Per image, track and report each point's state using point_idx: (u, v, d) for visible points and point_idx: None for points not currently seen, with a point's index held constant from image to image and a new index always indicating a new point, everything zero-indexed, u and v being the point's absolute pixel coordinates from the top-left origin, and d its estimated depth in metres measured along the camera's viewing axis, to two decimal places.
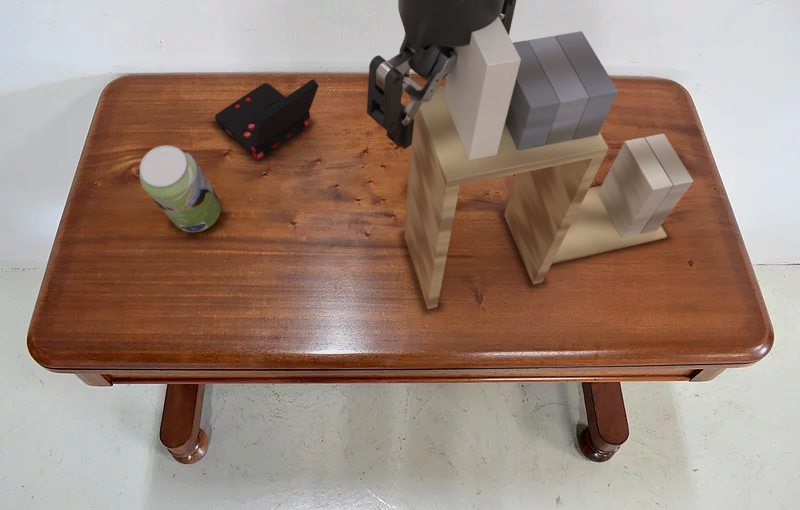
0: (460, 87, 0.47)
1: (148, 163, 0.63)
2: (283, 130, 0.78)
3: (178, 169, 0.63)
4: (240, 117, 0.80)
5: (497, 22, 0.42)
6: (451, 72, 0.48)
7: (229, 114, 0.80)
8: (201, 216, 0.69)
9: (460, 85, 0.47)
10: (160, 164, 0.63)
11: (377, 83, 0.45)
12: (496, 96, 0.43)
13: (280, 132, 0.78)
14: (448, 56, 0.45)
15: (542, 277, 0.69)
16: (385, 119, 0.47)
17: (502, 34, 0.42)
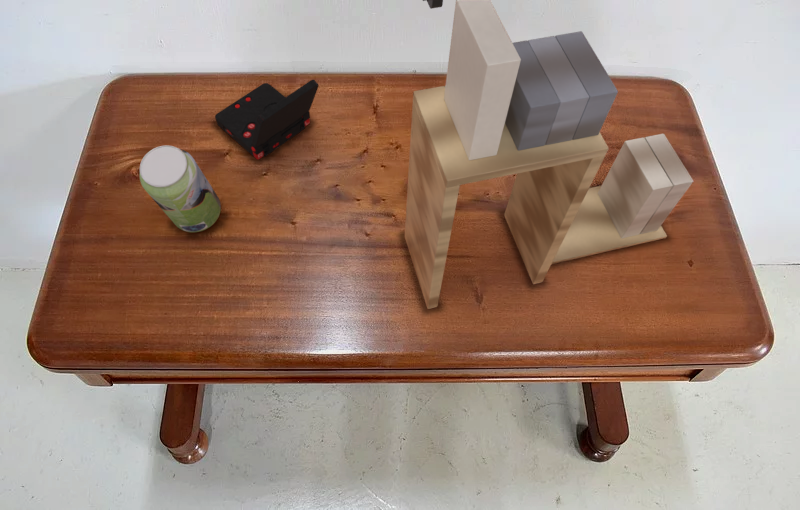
0: (460, 87, 0.47)
1: (148, 163, 0.63)
2: (283, 130, 0.78)
3: (178, 169, 0.63)
4: (240, 117, 0.80)
5: (497, 22, 0.42)
6: (451, 72, 0.48)
7: (229, 114, 0.80)
8: (201, 216, 0.69)
9: (460, 85, 0.47)
10: (160, 164, 0.63)
11: None
12: (496, 96, 0.43)
13: (280, 132, 0.78)
14: None
15: (542, 277, 0.69)
16: None
17: (502, 34, 0.42)
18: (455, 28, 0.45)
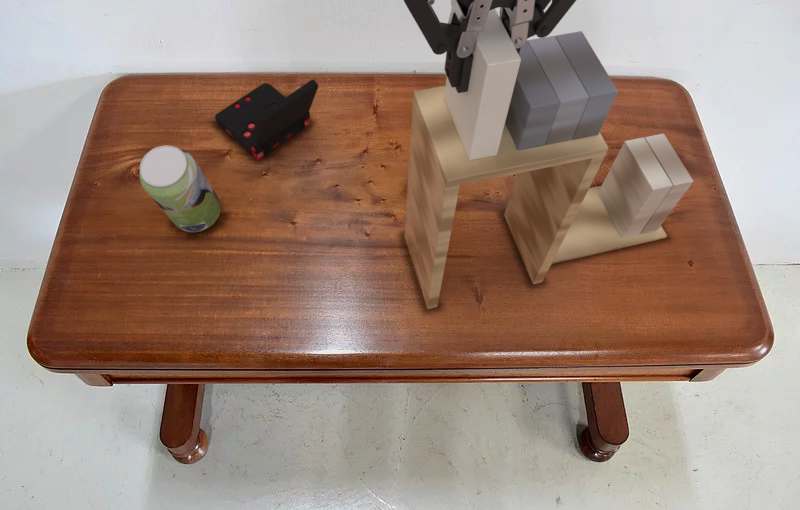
0: None
1: (148, 163, 0.63)
2: (283, 130, 0.78)
3: (178, 169, 0.63)
4: (240, 117, 0.80)
5: (497, 22, 0.42)
6: None
7: (229, 114, 0.80)
8: (201, 216, 0.69)
9: None
10: (160, 164, 0.63)
11: None
12: (496, 96, 0.43)
13: (280, 132, 0.78)
14: None
15: (542, 277, 0.69)
16: (427, 40, 0.40)
17: (502, 34, 0.42)
18: None
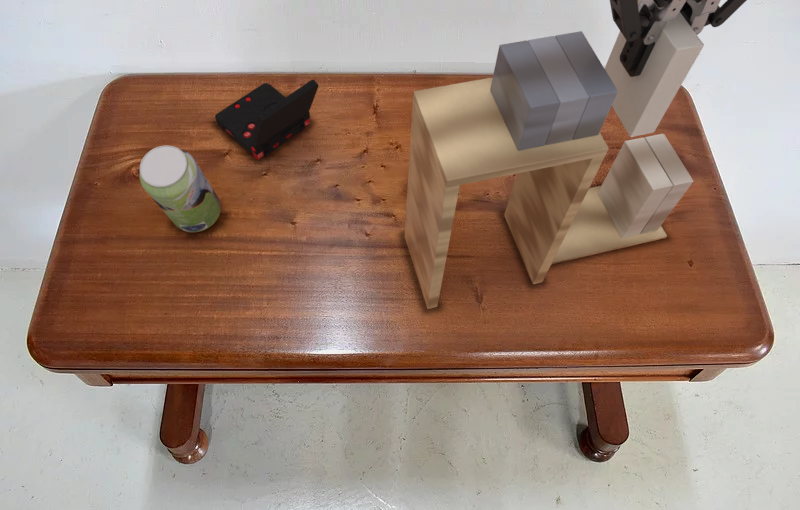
0: None
1: (148, 163, 0.63)
2: (283, 130, 0.78)
3: (178, 169, 0.63)
4: (240, 117, 0.80)
5: None
6: (615, 58, 0.54)
7: (229, 114, 0.80)
8: (201, 216, 0.69)
9: None
10: (160, 164, 0.63)
11: None
12: (673, 77, 0.49)
13: (280, 132, 0.78)
14: None
15: (542, 277, 0.69)
16: (623, 28, 0.46)
17: (683, 23, 0.48)
18: None
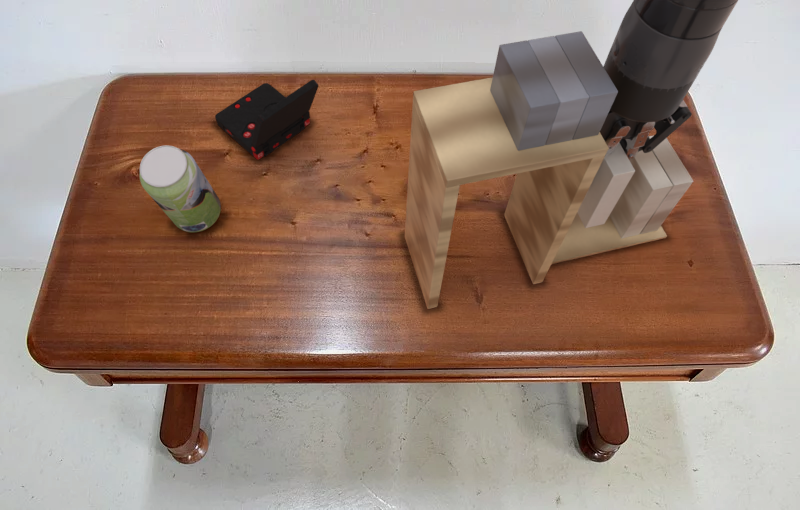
0: None
1: (148, 163, 0.63)
2: (283, 130, 0.78)
3: (178, 169, 0.63)
4: (240, 117, 0.80)
5: None
6: None
7: (229, 114, 0.80)
8: (201, 216, 0.69)
9: None
10: (160, 164, 0.63)
11: None
12: (614, 191, 0.63)
13: (280, 132, 0.78)
14: (622, 125, 0.56)
15: (542, 277, 0.69)
16: None
17: (620, 151, 0.62)
18: None
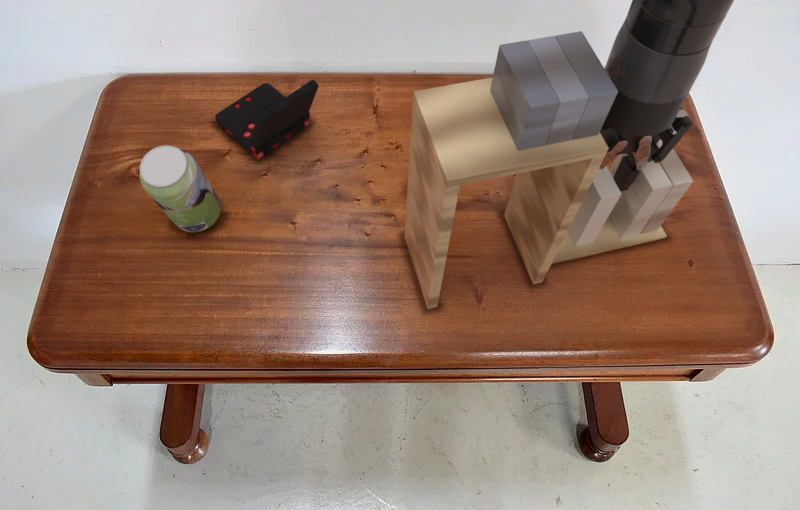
0: None
1: (148, 163, 0.63)
2: (283, 130, 0.78)
3: (178, 169, 0.63)
4: (240, 117, 0.80)
5: None
6: None
7: (229, 114, 0.80)
8: (201, 216, 0.69)
9: None
10: (160, 164, 0.63)
11: None
12: (601, 212, 0.67)
13: (280, 132, 0.78)
14: (620, 140, 0.58)
15: (542, 277, 0.69)
16: None
17: (607, 175, 0.65)
18: None
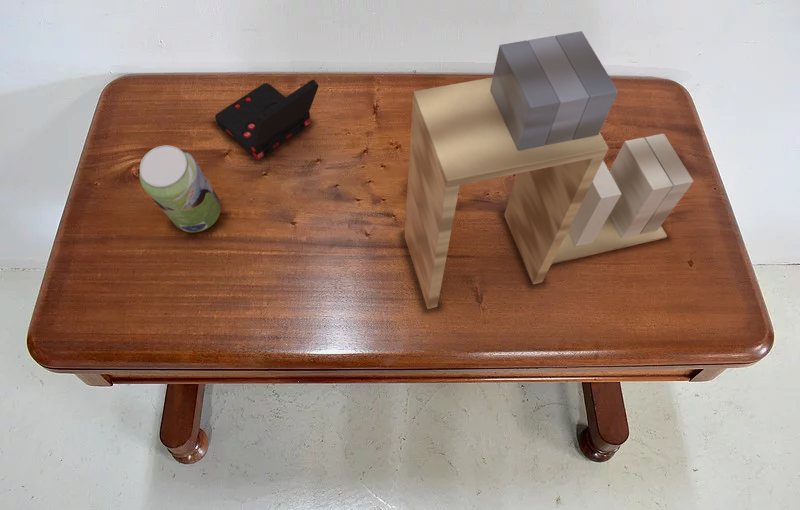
0: None
1: (148, 163, 0.63)
2: (283, 130, 0.78)
3: (178, 169, 0.63)
4: (240, 117, 0.80)
5: (603, 166, 0.66)
6: None
7: (229, 114, 0.80)
8: (201, 216, 0.69)
9: None
10: (160, 164, 0.63)
11: None
12: (601, 212, 0.67)
13: (280, 132, 0.78)
14: None
15: (542, 277, 0.69)
16: None
17: (607, 175, 0.65)
18: None
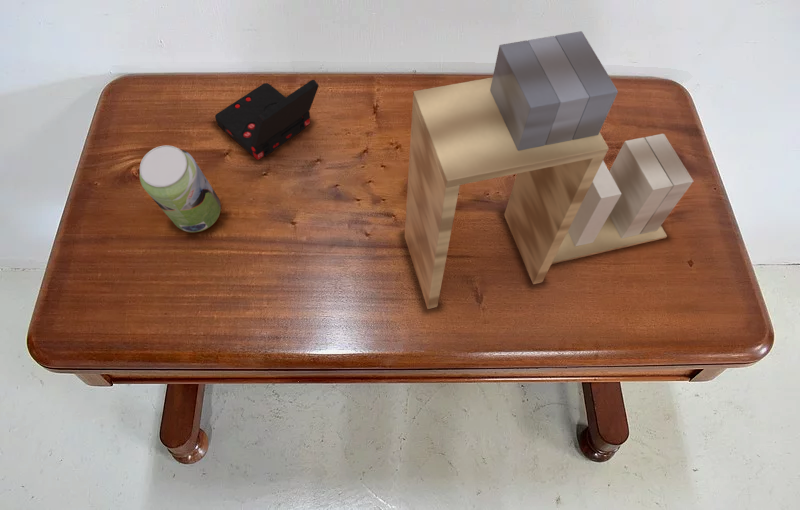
0: None
1: (148, 163, 0.63)
2: (283, 130, 0.78)
3: (178, 169, 0.63)
4: (240, 117, 0.80)
5: (603, 166, 0.66)
6: None
7: (229, 114, 0.80)
8: (201, 216, 0.69)
9: None
10: (160, 164, 0.63)
11: None
12: (601, 212, 0.67)
13: (280, 132, 0.78)
14: None
15: (542, 277, 0.69)
16: None
17: (607, 175, 0.65)
18: None
